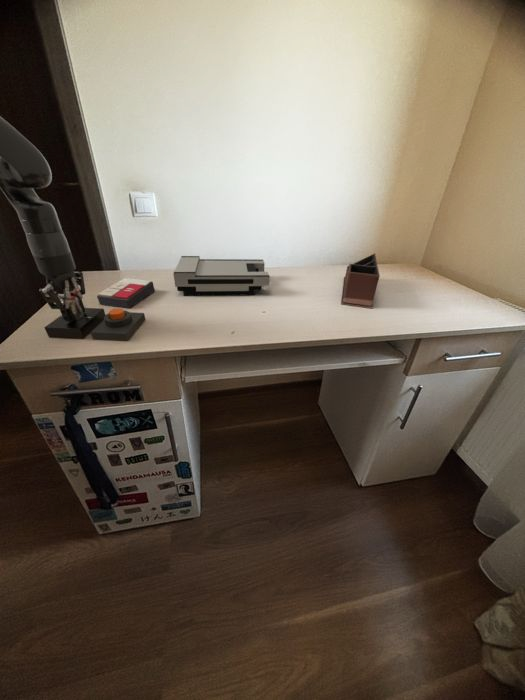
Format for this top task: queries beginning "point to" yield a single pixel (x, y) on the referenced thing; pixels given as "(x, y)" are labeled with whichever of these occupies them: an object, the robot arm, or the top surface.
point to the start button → (116, 314)
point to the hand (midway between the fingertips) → (75, 316)
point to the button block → (118, 327)
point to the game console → (219, 276)
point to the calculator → (126, 293)
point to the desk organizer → (361, 282)
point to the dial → (75, 307)
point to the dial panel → (76, 325)
